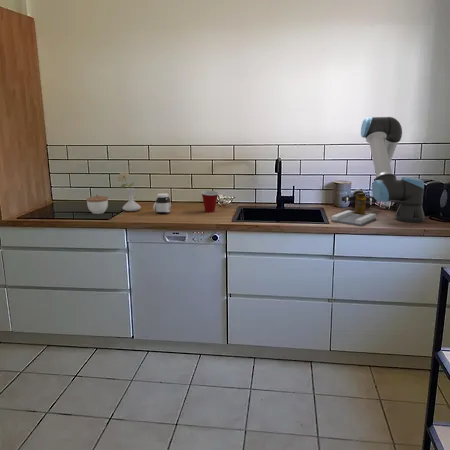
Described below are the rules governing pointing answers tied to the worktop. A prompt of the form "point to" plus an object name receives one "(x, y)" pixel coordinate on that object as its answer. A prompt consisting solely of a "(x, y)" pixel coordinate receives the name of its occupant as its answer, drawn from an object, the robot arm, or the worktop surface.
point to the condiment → (360, 204)
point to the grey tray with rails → (352, 218)
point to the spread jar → (162, 204)
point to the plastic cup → (209, 200)
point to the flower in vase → (131, 204)
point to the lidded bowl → (97, 204)
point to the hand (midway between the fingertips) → (359, 202)
